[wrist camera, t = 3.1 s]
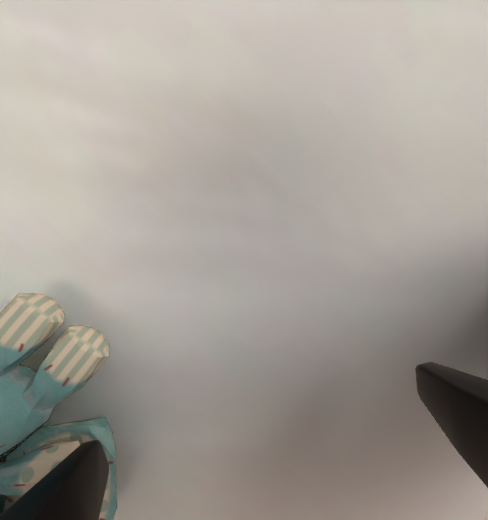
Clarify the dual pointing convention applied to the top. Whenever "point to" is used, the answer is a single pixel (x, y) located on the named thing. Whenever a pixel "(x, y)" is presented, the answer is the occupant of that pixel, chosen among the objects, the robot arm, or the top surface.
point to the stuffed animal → (46, 396)
